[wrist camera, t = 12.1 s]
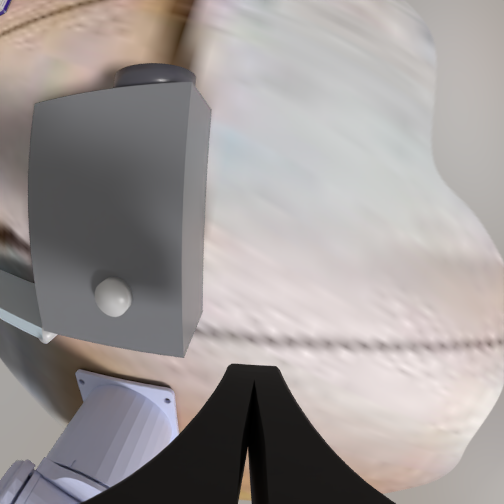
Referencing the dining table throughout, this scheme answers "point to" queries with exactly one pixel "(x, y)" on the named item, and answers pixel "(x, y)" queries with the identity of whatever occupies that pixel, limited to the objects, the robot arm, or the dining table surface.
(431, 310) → the dining table surface
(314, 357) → the dining table surface
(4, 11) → the supplement box
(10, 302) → the side door
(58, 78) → the dining table surface
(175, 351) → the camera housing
